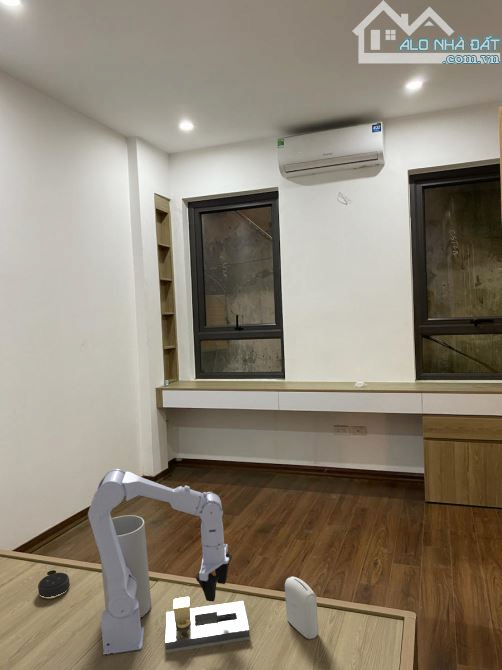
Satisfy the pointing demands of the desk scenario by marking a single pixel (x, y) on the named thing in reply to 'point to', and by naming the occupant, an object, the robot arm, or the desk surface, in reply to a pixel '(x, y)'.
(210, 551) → the robot arm
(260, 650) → the desk surface
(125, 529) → the cylinder vase
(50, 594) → the smart speaker
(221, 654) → the desk surface
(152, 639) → the desk surface
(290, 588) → the photo printer
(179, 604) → the brass peg
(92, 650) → the desk surface
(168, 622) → the keyhole plate
